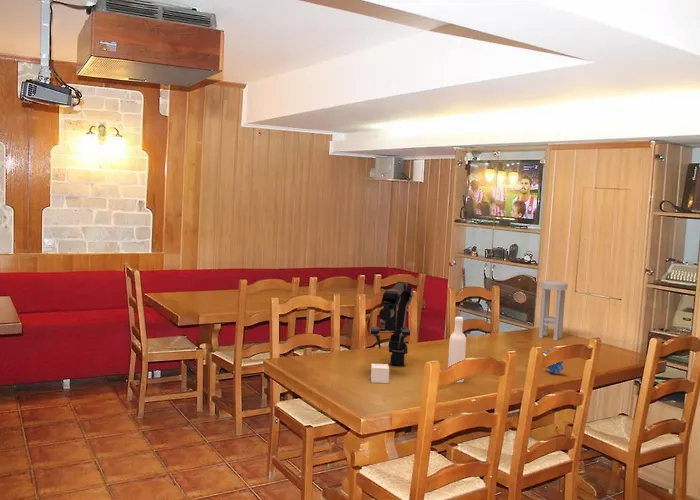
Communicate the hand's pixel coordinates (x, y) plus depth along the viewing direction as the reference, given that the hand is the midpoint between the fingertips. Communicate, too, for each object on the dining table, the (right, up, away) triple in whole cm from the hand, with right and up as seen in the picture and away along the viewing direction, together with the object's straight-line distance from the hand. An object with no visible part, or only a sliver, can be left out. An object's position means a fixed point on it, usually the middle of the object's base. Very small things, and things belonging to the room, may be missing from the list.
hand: (389, 348), depth 320 cm
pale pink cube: (-5, -13, -12) cm, 19 cm away
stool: (+106, -8, +97) cm, 145 cm away
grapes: (+81, -14, +12) cm, 83 cm away
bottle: (+31, -14, -7) cm, 34 cm away
